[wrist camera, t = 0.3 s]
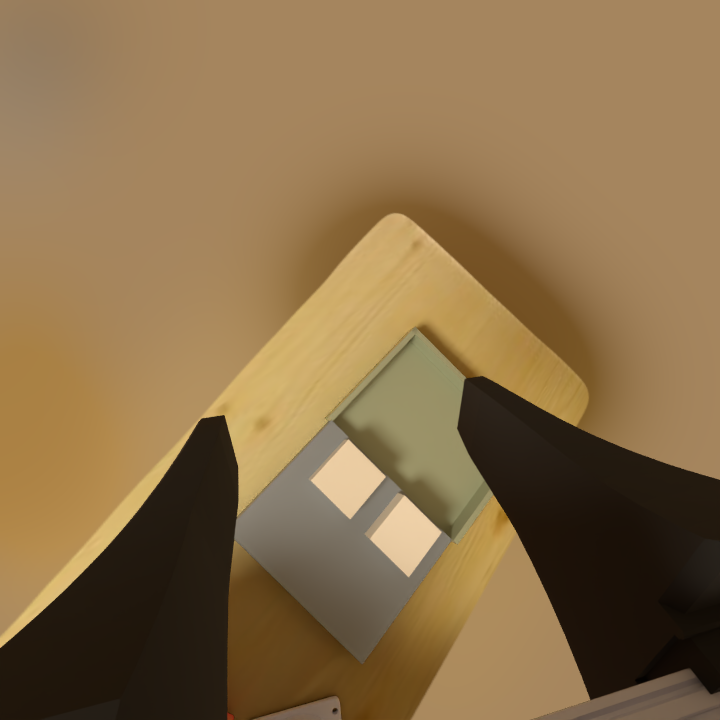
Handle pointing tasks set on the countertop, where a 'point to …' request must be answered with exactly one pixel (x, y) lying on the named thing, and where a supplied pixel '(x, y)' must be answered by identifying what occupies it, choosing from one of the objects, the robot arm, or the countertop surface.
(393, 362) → the tray
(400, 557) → the tile
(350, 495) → the tile
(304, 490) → the slate plate
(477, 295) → the countertop surface
